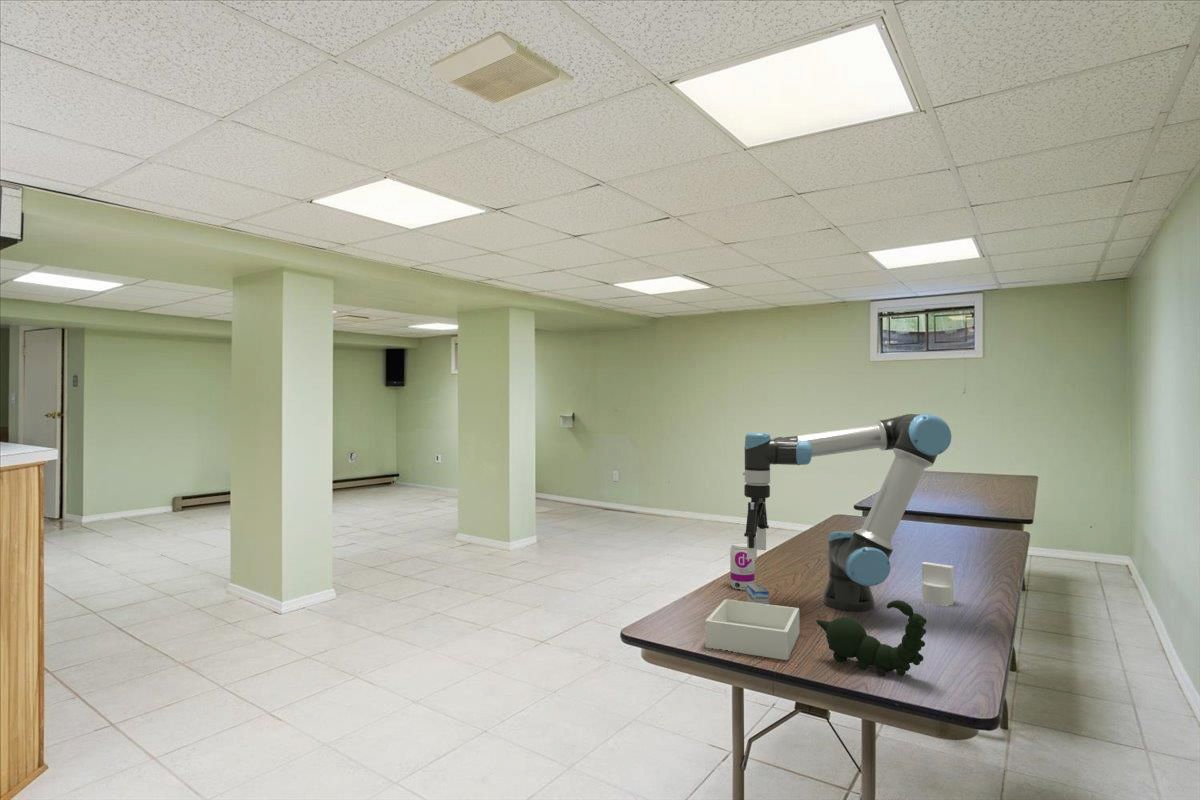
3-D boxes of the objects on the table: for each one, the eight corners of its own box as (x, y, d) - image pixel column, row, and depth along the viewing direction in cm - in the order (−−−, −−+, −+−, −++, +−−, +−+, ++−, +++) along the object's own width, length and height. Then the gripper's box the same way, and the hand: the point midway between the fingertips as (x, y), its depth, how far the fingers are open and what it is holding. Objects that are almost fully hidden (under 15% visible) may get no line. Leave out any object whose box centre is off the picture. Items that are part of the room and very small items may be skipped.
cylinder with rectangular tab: (957, 601, 208) (956, 564, 208) (949, 608, 202) (948, 569, 202) (927, 596, 214) (926, 560, 214) (918, 602, 208) (918, 565, 208)
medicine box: (746, 612, 198) (746, 584, 198) (760, 612, 199) (760, 583, 199) (754, 621, 190) (754, 591, 191) (769, 620, 191) (769, 591, 191)
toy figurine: (924, 681, 152) (820, 647, 168) (931, 602, 151) (826, 575, 167) (914, 695, 145) (806, 658, 161) (921, 612, 144) (812, 583, 160)
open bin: (799, 633, 180) (799, 608, 180) (787, 660, 161) (787, 632, 161) (725, 623, 189) (724, 599, 189) (705, 647, 170) (705, 620, 170)
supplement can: (755, 591, 221) (754, 547, 221) (730, 590, 222) (730, 546, 223) (754, 585, 229) (754, 542, 229) (730, 583, 230) (730, 541, 231)
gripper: (753, 479, 208) (753, 545, 208) (734, 487, 186) (734, 561, 185) (777, 480, 205) (776, 547, 205) (761, 489, 182) (760, 564, 182)
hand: (756, 554), depth 195 cm, fingers open, 13 cm apart
